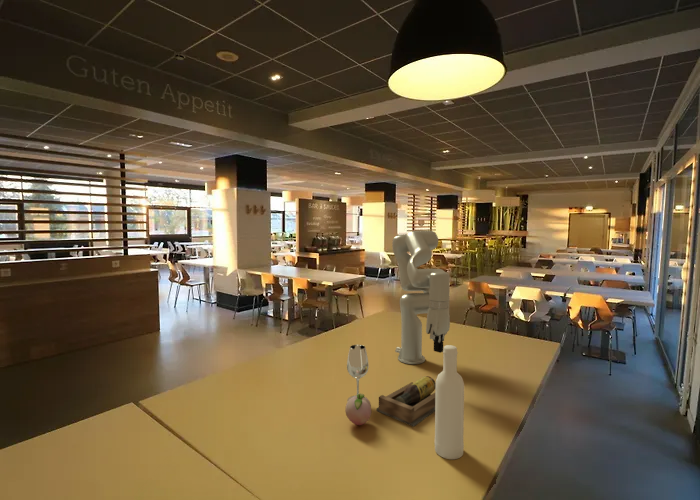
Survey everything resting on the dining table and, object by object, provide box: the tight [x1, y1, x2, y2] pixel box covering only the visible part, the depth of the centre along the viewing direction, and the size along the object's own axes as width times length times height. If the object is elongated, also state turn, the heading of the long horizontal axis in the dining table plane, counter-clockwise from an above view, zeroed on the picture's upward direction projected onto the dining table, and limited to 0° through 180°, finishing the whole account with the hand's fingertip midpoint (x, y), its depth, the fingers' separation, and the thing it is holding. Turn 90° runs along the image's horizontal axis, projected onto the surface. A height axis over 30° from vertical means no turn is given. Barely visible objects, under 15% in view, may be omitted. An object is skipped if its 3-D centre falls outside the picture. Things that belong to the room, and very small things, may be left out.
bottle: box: [434, 344, 465, 460], centre depth 104 cm, size 8×8×30 cm
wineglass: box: [346, 344, 370, 402], centre depth 135 cm, size 8×8×20 cm
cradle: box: [375, 382, 435, 428], centre depth 131 cm, size 15×22×5 cm
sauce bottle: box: [396, 375, 436, 405], centre depth 133 cm, size 7×6×20 cm
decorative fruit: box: [344, 392, 372, 426], centre depth 119 cm, size 9×8×10 cm
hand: (438, 351), depth 143 cm, fingers closed
